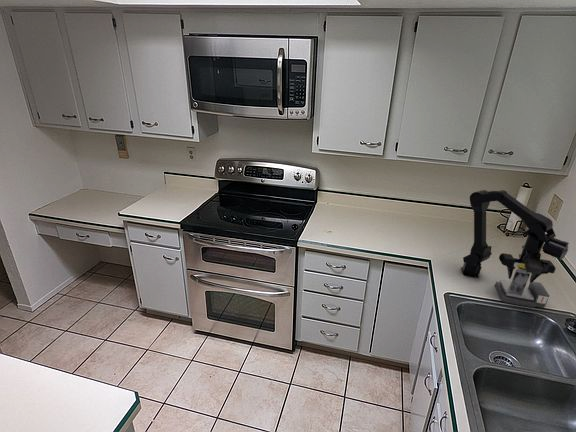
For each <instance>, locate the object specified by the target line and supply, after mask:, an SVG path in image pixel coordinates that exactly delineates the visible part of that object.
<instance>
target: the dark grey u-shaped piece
mask: <svg viewBox="0 0 576 432" xmlns="http://www.w3.org/2000/svg"><path fill="white" fill-rule="evenodd" d="M494 287H495V289H496V292H497V293H498V296H499V298H500V300H501V302H502V303H507V304H512V305H517V306H521V307H528V308H533V309H535V308H536V307H539V308H545V307H546V304H547V302H548V300H549V298H550V294H549V292H548V291H547V290H546V288H545V286H544V285H543V284H542V282H538V281H533V282H532V283H530V282H529V284H528V285H527V287H528V289H529V290H530V292H531V294H532V295H533V297H534V300H529V299H524V298H518V297H513V296H507V295H506V294H505V292H504V290H503V288H502V286H501V284H500V281H495V284H494Z"/></svg>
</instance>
